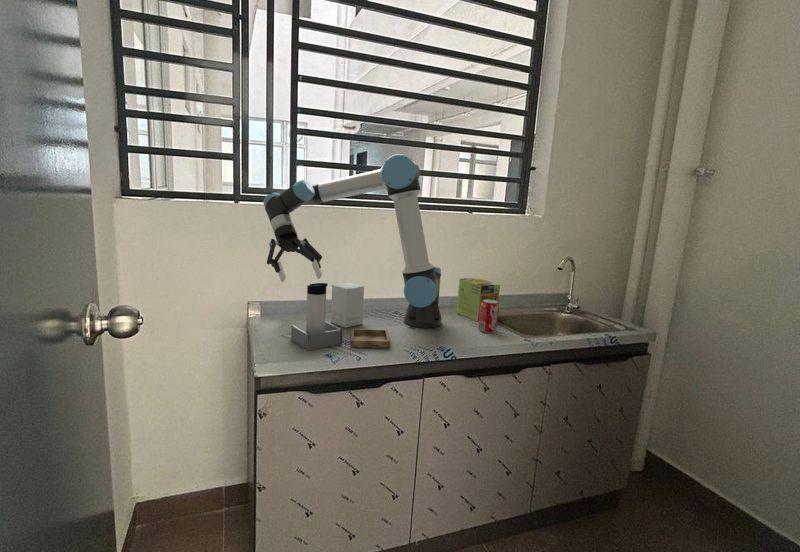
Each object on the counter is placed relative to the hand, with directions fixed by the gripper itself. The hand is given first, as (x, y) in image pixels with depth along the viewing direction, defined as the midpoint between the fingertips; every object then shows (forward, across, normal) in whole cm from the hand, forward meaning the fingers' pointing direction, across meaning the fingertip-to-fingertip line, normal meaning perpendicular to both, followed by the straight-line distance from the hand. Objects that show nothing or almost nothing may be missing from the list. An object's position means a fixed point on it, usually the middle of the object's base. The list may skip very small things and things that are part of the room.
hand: (302, 278), depth 152 cm
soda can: (+36, -63, +8) cm, 73 cm away
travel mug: (+22, 0, -6) cm, 22 cm away
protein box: (+24, -76, -4) cm, 80 cm away
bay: (+21, 0, -6) cm, 22 cm away
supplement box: (+12, -20, -16) cm, 29 cm away
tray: (+28, -16, 0) cm, 32 cm away
